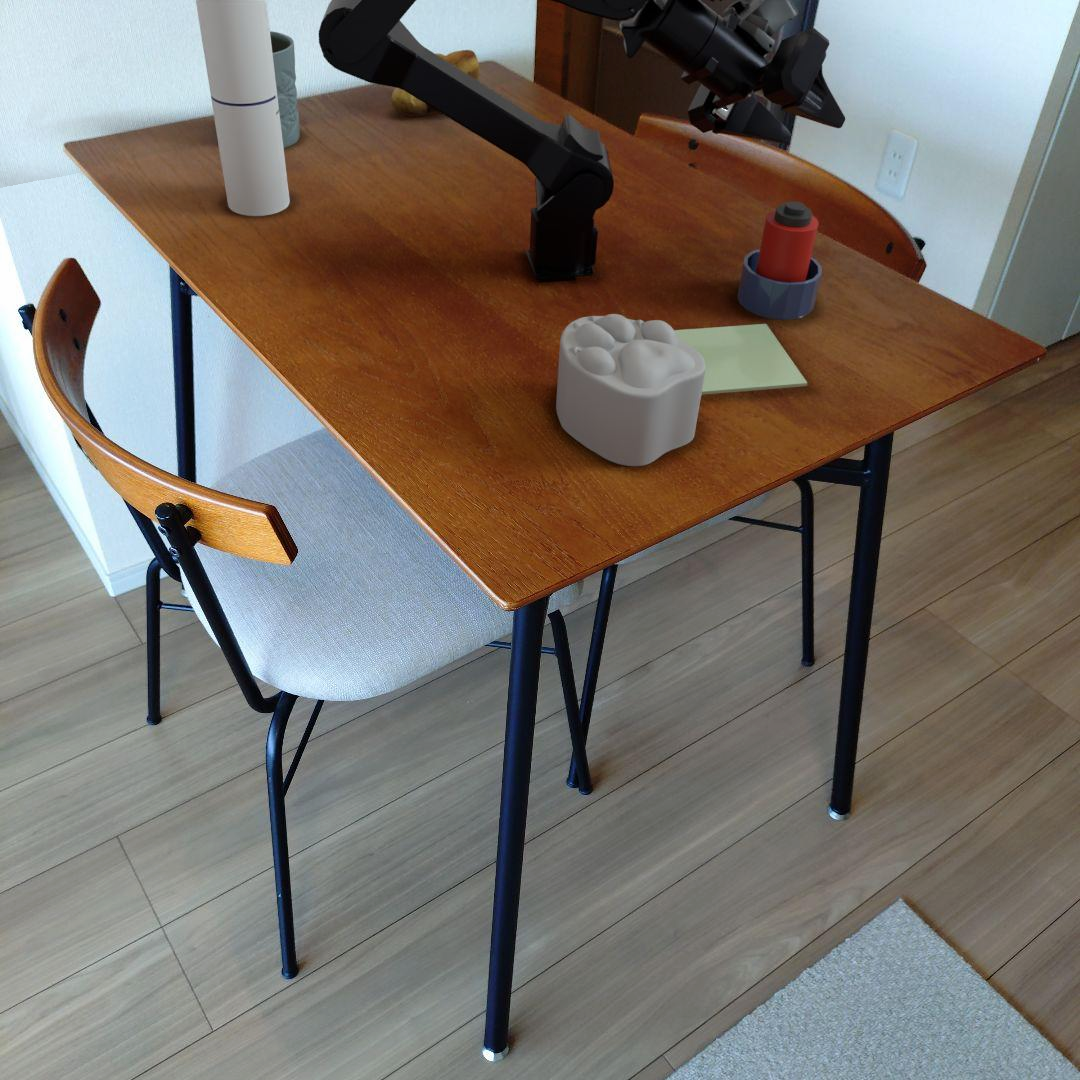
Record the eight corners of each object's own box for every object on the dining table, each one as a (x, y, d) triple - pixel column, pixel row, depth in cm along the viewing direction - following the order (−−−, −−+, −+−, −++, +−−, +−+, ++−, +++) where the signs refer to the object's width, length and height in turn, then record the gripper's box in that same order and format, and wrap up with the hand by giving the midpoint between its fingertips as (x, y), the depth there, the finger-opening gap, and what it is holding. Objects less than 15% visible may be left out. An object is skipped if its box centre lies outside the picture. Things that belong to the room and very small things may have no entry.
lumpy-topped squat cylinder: (625, 475, 91) (636, 389, 85) (527, 405, 98) (531, 321, 92) (710, 432, 96) (725, 348, 90) (611, 368, 103) (619, 286, 97)
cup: (752, 326, 110) (760, 286, 107) (726, 288, 116) (733, 249, 113) (824, 320, 112) (834, 281, 109) (795, 283, 118) (804, 245, 115)
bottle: (761, 314, 111) (780, 218, 104) (743, 289, 115) (761, 195, 108) (807, 310, 112) (830, 215, 105) (789, 286, 116) (809, 193, 109)
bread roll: (407, 127, 146) (405, 66, 141) (373, 104, 152) (369, 45, 147) (486, 110, 152) (487, 51, 147) (450, 89, 158) (449, 31, 153)
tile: (695, 399, 100) (696, 392, 99) (661, 337, 108) (662, 330, 107) (806, 389, 102) (807, 382, 101) (764, 330, 110) (766, 323, 109)
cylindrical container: (215, 208, 125) (176, -27, 109) (250, 185, 130) (218, -43, 114) (268, 220, 123) (236, -17, 107) (301, 197, 128) (276, -33, 112)
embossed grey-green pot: (296, 154, 138) (285, 57, 130) (217, 150, 138) (201, 52, 130) (309, 125, 145) (300, 31, 138) (235, 121, 145) (221, 27, 137)
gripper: (790, -69, 94) (912, 37, 100) (688, -7, 111) (797, 80, 118) (733, 45, 94) (858, 144, 100) (640, 89, 111) (752, 171, 118)
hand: (814, 131), depth 109 cm, fingers open, 9 cm apart
